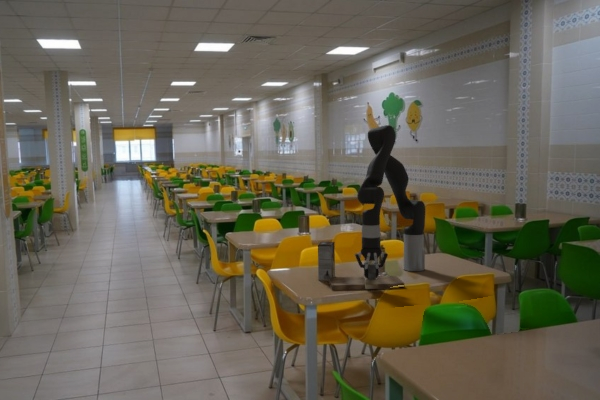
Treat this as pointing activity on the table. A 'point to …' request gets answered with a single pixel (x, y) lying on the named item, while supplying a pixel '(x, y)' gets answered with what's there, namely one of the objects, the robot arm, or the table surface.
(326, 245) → the coffee box
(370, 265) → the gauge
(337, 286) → the board
